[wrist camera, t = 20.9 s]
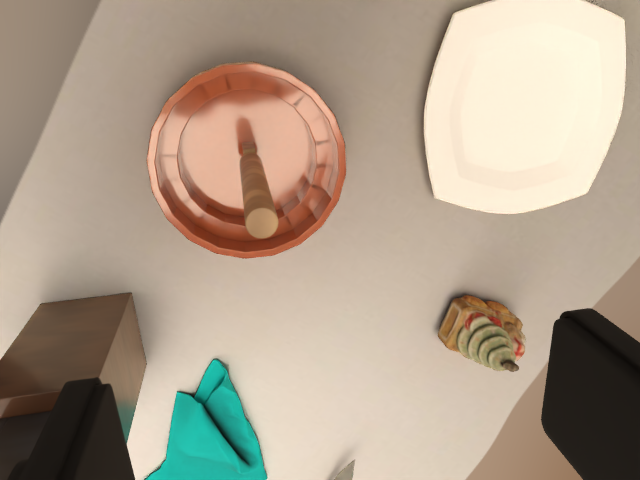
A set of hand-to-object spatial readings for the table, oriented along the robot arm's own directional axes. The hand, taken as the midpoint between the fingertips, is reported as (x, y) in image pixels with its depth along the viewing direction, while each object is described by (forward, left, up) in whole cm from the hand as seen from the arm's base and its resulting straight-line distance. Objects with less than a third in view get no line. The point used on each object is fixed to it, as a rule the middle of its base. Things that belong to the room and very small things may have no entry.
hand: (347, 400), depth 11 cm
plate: (+24, 0, -36) cm, 44 cm away
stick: (-1, -2, -36) cm, 36 cm away
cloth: (-9, -36, -36) cm, 52 cm away
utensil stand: (-17, -18, -36) cm, 44 cm away
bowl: (-1, -2, -36) cm, 36 cm away
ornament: (+21, -22, -36) cm, 48 cm away
